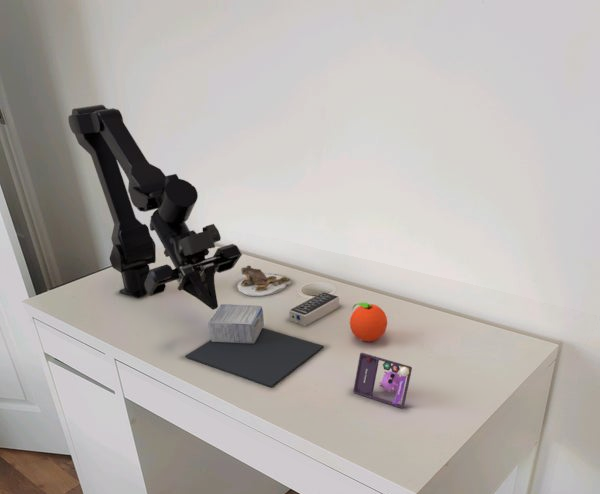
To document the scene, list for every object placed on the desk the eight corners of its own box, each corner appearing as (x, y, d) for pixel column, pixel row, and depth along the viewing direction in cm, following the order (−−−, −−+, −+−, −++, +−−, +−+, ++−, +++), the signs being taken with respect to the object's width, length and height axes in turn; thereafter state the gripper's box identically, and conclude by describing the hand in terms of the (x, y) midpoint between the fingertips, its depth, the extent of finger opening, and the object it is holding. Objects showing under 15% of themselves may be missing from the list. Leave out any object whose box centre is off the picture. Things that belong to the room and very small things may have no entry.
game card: (357, 353, 98) (409, 368, 93) (373, 349, 102) (422, 363, 98) (350, 393, 100) (400, 409, 95) (365, 387, 104) (414, 403, 100)
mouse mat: (185, 357, 113) (185, 355, 113) (240, 323, 124) (240, 321, 124) (271, 387, 103) (271, 385, 103) (323, 347, 114) (323, 345, 114)
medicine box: (210, 342, 117) (254, 345, 115) (207, 321, 114) (252, 323, 113) (222, 323, 123) (264, 325, 122) (220, 303, 121) (263, 305, 119)
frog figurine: (225, 291, 138) (223, 274, 136) (256, 272, 146) (254, 256, 144) (267, 300, 133) (266, 283, 131) (297, 280, 141) (296, 264, 139)
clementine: (338, 336, 117) (337, 302, 113) (365, 325, 121) (365, 291, 117) (367, 352, 112) (367, 316, 108) (394, 339, 115) (395, 305, 111)
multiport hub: (340, 306, 128) (339, 296, 127) (305, 326, 121) (305, 315, 120) (323, 301, 131) (323, 291, 130) (289, 320, 124) (288, 310, 123)
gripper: (139, 225, 103) (183, 305, 102) (230, 201, 113) (272, 273, 112) (127, 258, 113) (167, 331, 111) (212, 233, 123) (250, 300, 121)
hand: (215, 308), depth 114 cm, fingers closed
